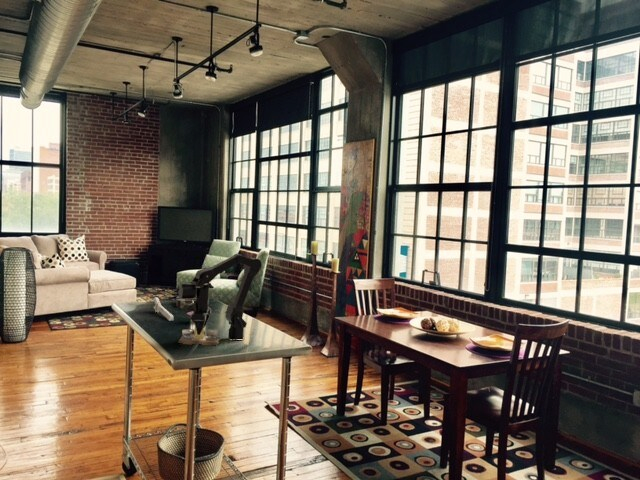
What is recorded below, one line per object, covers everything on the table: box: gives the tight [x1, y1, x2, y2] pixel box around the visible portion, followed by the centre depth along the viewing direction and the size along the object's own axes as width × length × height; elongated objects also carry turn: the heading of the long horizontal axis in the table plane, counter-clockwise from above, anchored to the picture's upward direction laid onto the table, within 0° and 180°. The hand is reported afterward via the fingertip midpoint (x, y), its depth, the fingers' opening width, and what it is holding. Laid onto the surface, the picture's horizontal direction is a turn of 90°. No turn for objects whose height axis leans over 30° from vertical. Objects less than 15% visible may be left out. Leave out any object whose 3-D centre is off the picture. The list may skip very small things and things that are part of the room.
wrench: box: [152, 296, 175, 322], centre depth 296 cm, size 8×2×30 cm
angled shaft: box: [181, 328, 195, 340], centre depth 243 cm, size 5×3×4 cm, turn 122°
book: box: [175, 295, 196, 309], centre depth 328 cm, size 15×25×5 cm, turn 17°
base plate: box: [177, 329, 222, 346], centre depth 244 cm, size 17×11×6 cm, turn 92°
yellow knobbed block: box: [194, 325, 207, 339], centre depth 244 cm, size 4×5×5 cm
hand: (200, 332), depth 244 cm, fingers open, 9 cm apart
